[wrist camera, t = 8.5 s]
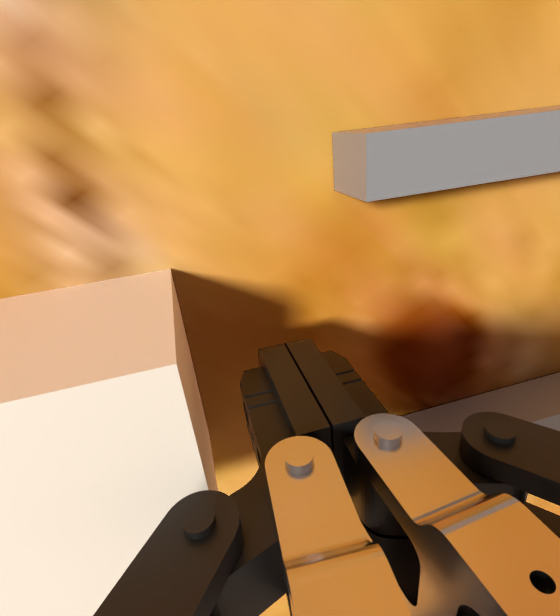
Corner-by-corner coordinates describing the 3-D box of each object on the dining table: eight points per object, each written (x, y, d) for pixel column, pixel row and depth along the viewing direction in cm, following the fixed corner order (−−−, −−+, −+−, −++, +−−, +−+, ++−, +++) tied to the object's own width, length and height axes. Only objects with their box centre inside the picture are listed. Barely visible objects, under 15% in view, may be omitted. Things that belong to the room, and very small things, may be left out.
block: (170, 268, 11) (176, 364, 7) (209, 433, 14) (232, 581, 9) (-11, 300, 10) (-146, 436, 6) (68, 470, 13) (18, 654, 8)
